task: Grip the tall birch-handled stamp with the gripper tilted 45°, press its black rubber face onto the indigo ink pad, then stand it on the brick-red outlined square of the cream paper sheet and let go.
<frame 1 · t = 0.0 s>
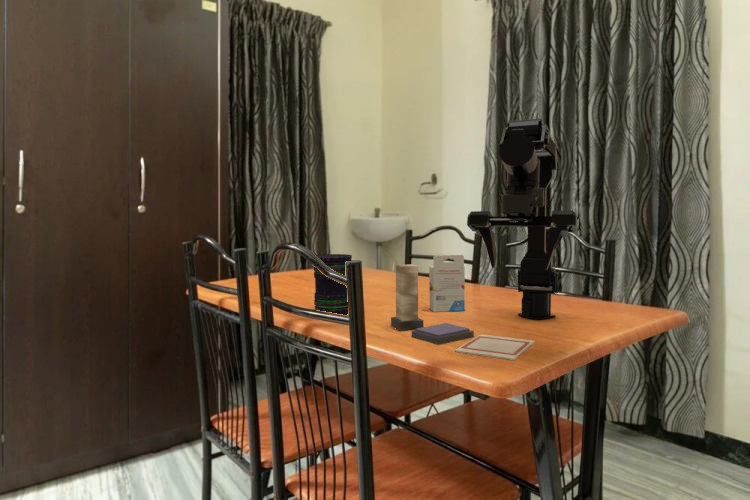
hand: (519, 268, 91), 15 cm above the table, tool pointing down, fingers open, 9 cm apart
storage jar: (333, 314, 129), on the table
ink box: (446, 310, 133), on the table
ink pad: (442, 336, 104), on the table
stamp: (407, 327, 113), on the table
paper: (496, 346, 96), on the table
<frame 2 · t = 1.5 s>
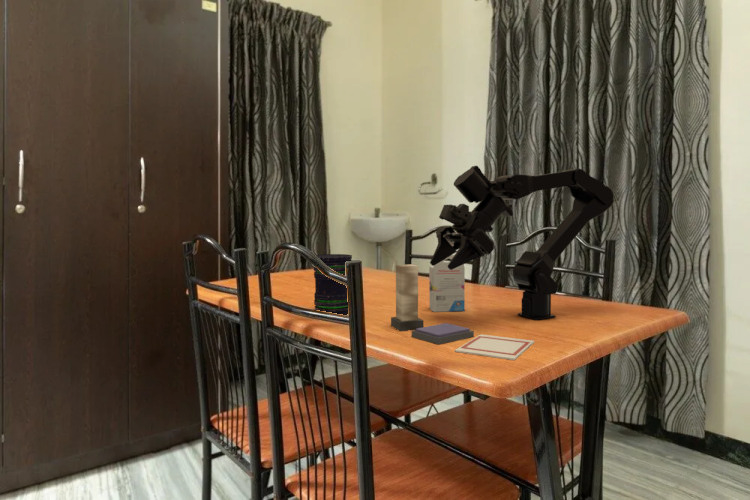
hand: (439, 266, 114), 13 cm above the table, tool tilted 45°, fingers open, 9 cm apart
nothing on the table moved.
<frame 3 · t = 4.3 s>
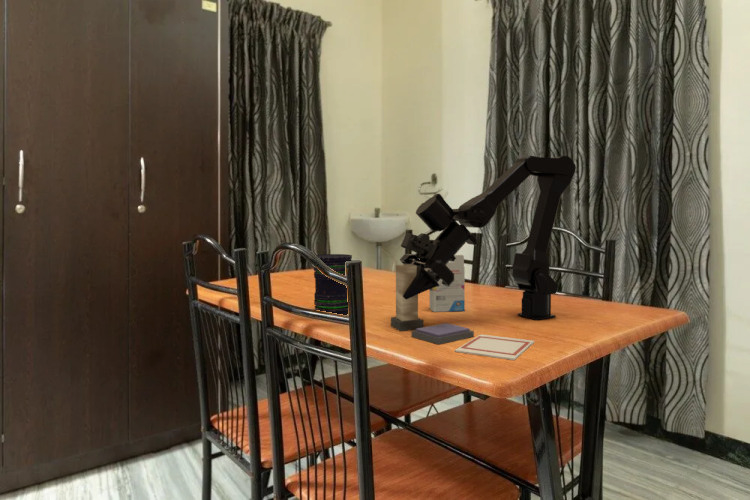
hand: (400, 296, 112), 7 cm above the table, tool tilted 45°, fingers closed on stamp, 4 cm apart
stamp: (406, 327, 113), on the table, touching gripper
everything else where it was.
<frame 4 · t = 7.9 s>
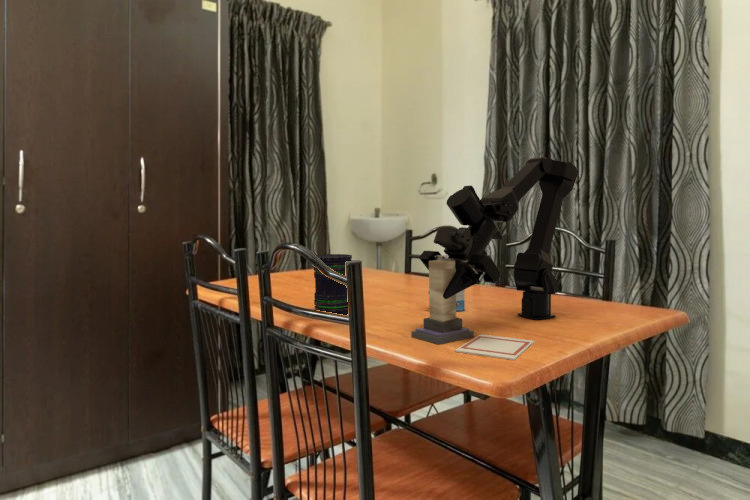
hand: (437, 296, 103), 9 cm above the table, tool tilted 45°, fingers closed on stamp, 4 cm apart
stamp: (442, 328, 104), point 2 cm above the table, touching gripper, ink pad
everything else where it was.
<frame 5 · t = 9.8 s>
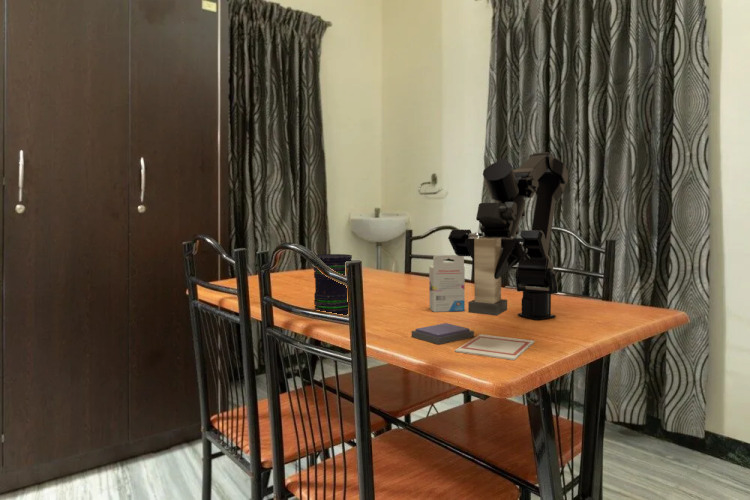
hand: (485, 276, 95), 13 cm above the table, tool tilted 45°, fingers closed on stamp, 4 cm apart
stamp: (487, 311, 97), point 7 cm above the table, touching gripper
everything else where it was.
when the fingers open (7 cm above the table, at t = 11.7 s): stamp stays where it is, resting on paper.
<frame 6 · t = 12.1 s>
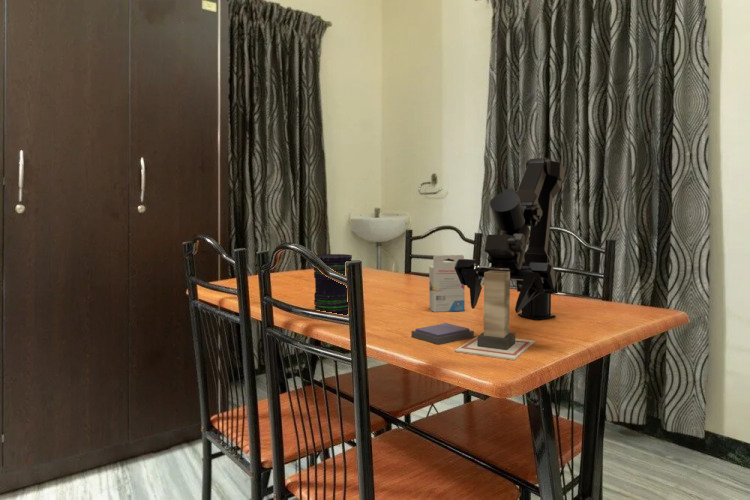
hand: (494, 309, 94), 7 cm above the table, tool tilted 45°, fingers open, 8 cm apart
stamp: (496, 344, 96), resting on paper
everything else where it was.
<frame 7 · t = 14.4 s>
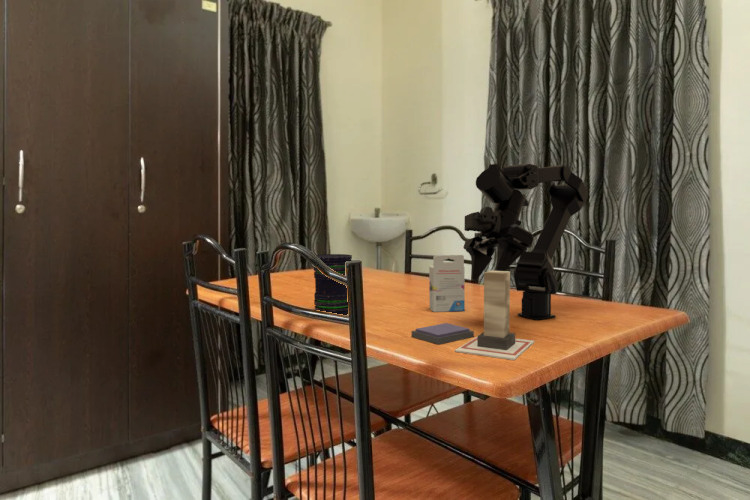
hand: (485, 277, 108), 12 cm above the table, tool tilted 30°, fingers open, 9 cm apart
nothing on the table moved.
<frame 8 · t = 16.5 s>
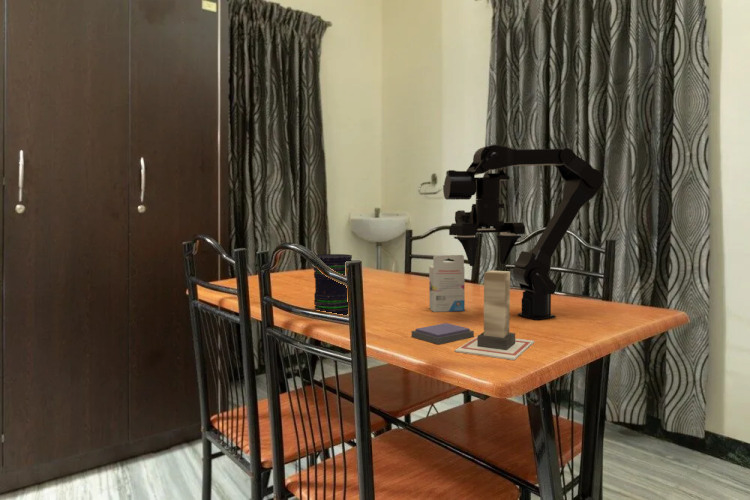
hand: (487, 265, 121), 13 cm above the table, tool pointing down, fingers open, 9 cm apart
nothing on the table moved.
at the end: stamp 0.4 cm off-centre on the paper, point 0.3 cm above the paper's base; stamp tilted 0°; the gripper is holding nothing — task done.
